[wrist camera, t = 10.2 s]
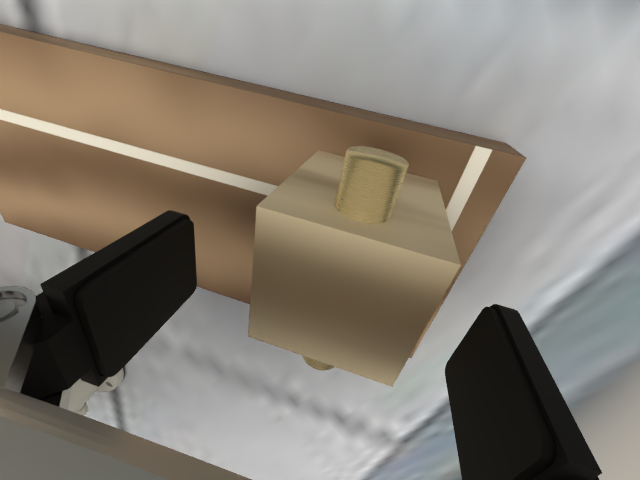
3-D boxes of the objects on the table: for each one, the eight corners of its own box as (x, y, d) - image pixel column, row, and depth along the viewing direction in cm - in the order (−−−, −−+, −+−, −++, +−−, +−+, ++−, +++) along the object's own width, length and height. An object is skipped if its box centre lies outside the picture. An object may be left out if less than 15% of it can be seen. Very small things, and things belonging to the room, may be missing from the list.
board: (410, 326, 19) (410, 359, 17) (42, 207, 22) (4, 222, 20) (506, 143, 12) (526, 158, 10) (-32, 16, 16) (-99, 8, 14)
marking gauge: (388, 297, 15) (378, 410, 10) (297, 268, 16) (246, 362, 11) (453, 143, 11) (494, 206, 6) (325, 112, 11) (260, 145, 6)
